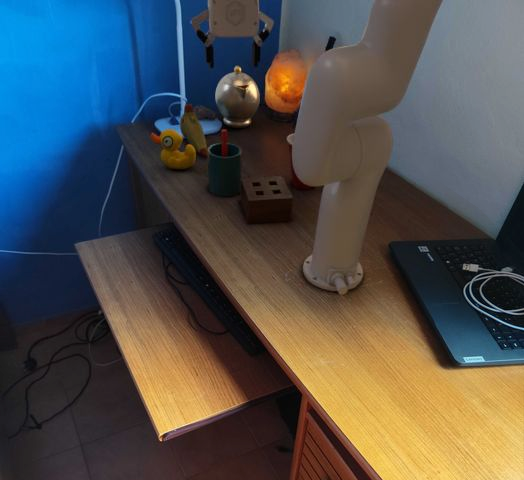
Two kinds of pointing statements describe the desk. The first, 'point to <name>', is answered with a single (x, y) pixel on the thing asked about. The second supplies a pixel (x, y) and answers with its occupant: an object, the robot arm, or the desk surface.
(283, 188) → the straw stand
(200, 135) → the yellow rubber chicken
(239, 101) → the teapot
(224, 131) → the straw
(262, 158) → the desk surface
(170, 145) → the duckling
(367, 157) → the robot arm
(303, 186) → the plastic cup
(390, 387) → the desk surface
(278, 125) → the desk surface
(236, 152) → the tumbler
